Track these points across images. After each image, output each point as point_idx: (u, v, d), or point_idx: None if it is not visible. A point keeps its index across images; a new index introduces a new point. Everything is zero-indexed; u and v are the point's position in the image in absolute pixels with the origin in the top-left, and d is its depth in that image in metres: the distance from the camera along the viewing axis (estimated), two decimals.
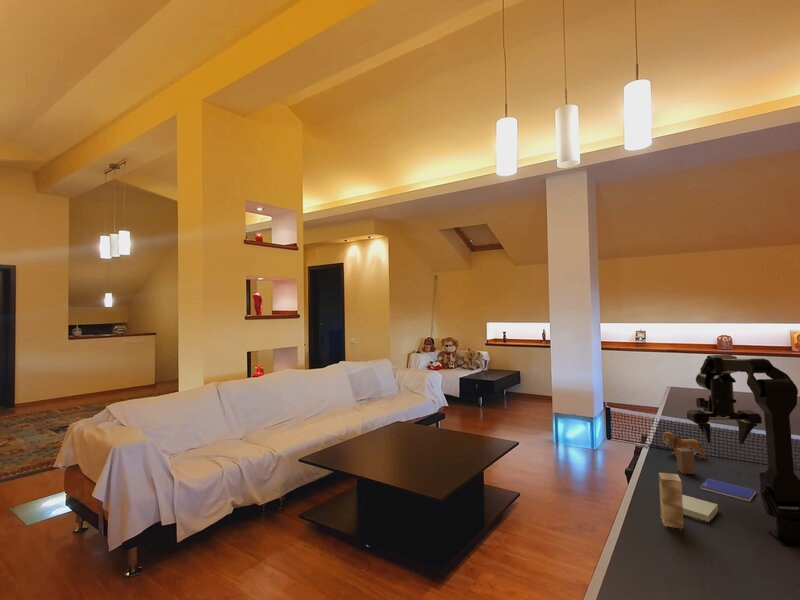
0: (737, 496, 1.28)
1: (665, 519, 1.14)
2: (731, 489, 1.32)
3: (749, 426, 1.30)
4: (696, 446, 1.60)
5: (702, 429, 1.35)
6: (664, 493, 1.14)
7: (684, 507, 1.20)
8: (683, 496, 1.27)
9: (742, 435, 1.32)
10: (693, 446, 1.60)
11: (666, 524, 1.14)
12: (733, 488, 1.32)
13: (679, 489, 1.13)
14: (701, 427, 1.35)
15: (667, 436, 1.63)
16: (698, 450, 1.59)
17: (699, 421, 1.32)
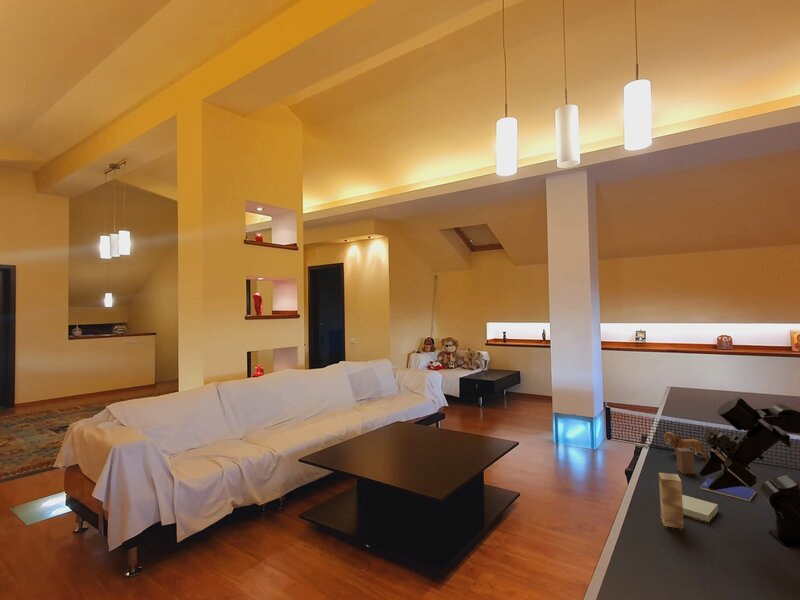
0: (737, 496, 1.28)
1: (665, 519, 1.14)
2: (731, 489, 1.32)
3: None
4: (698, 446, 1.59)
5: (722, 478, 1.06)
6: (664, 493, 1.14)
7: (684, 507, 1.20)
8: (683, 496, 1.27)
9: (712, 470, 1.16)
10: (695, 446, 1.60)
11: (666, 524, 1.14)
12: (733, 488, 1.32)
13: (679, 489, 1.13)
14: (724, 476, 1.06)
15: (669, 436, 1.63)
16: (700, 450, 1.59)
17: None
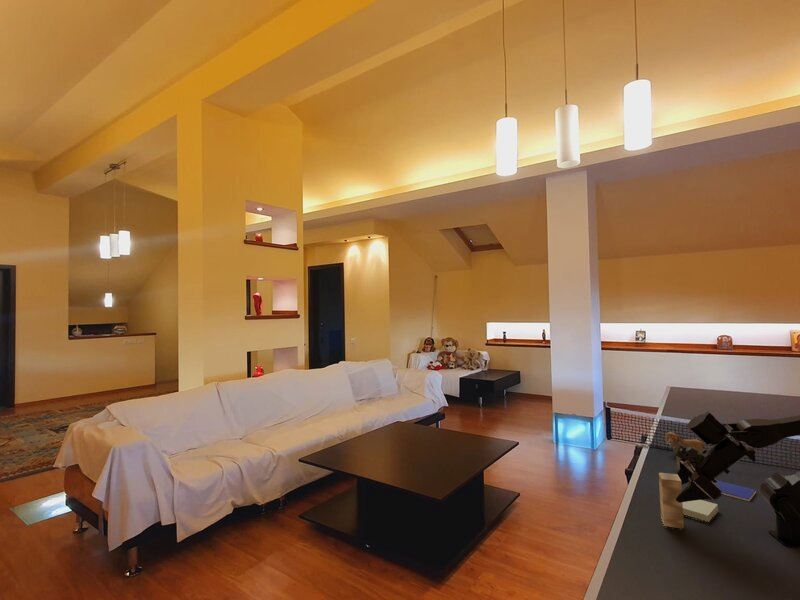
0: (737, 496, 1.28)
1: (665, 519, 1.14)
2: (730, 489, 1.32)
3: None
4: (699, 446, 1.59)
5: (689, 491, 1.09)
6: (664, 493, 1.14)
7: (684, 507, 1.20)
8: None
9: (681, 482, 1.18)
10: (696, 446, 1.60)
11: (666, 524, 1.14)
12: (733, 488, 1.32)
13: (679, 489, 1.13)
14: (691, 489, 1.09)
15: (670, 436, 1.63)
16: None
17: None
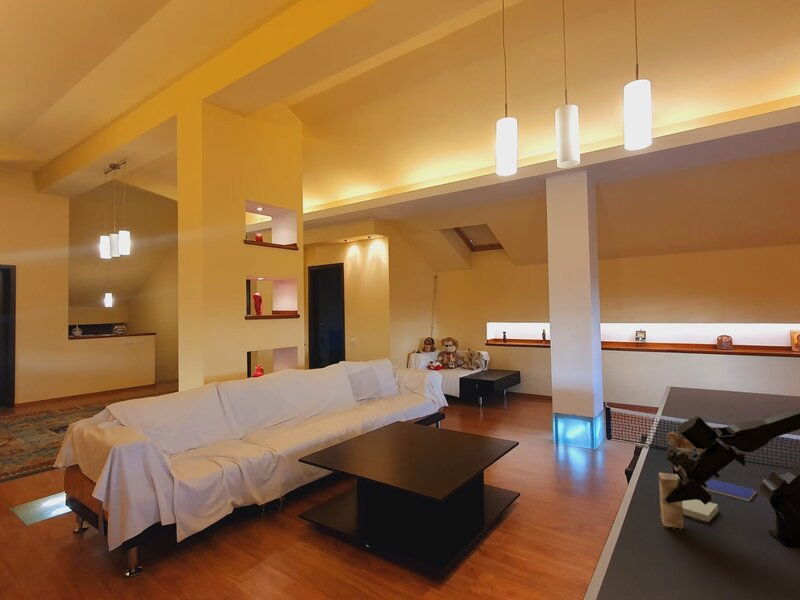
0: (737, 496, 1.28)
1: (665, 519, 1.14)
2: (730, 488, 1.32)
3: None
4: None
5: (678, 492, 1.12)
6: (664, 493, 1.14)
7: (684, 507, 1.20)
8: None
9: None
10: None
11: (666, 524, 1.14)
12: (733, 488, 1.32)
13: None
14: (679, 490, 1.11)
15: (671, 437, 1.63)
16: None
17: None
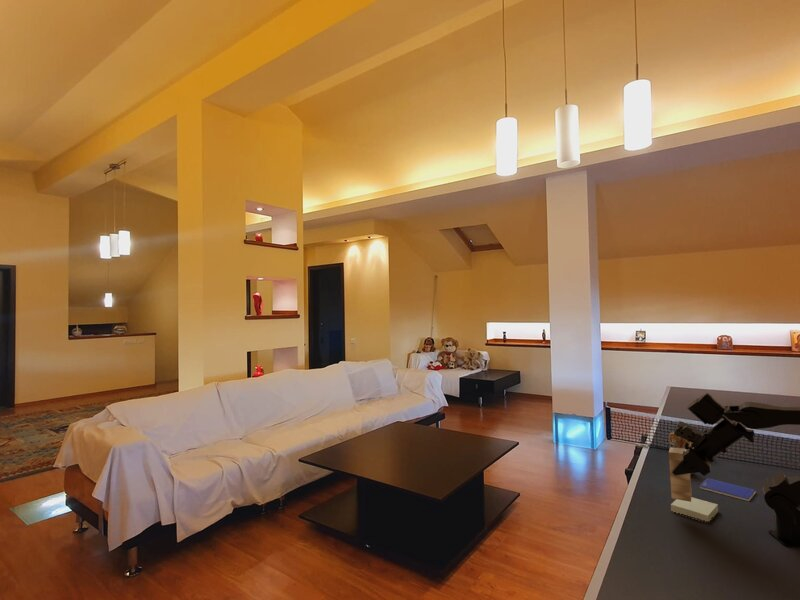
0: (736, 496, 1.28)
1: (672, 490, 1.19)
2: (730, 488, 1.32)
3: None
4: None
5: (683, 464, 1.16)
6: (671, 465, 1.19)
7: (684, 507, 1.20)
8: None
9: None
10: None
11: (673, 495, 1.19)
12: (733, 488, 1.32)
13: None
14: (684, 463, 1.16)
15: (673, 437, 1.62)
16: None
17: None
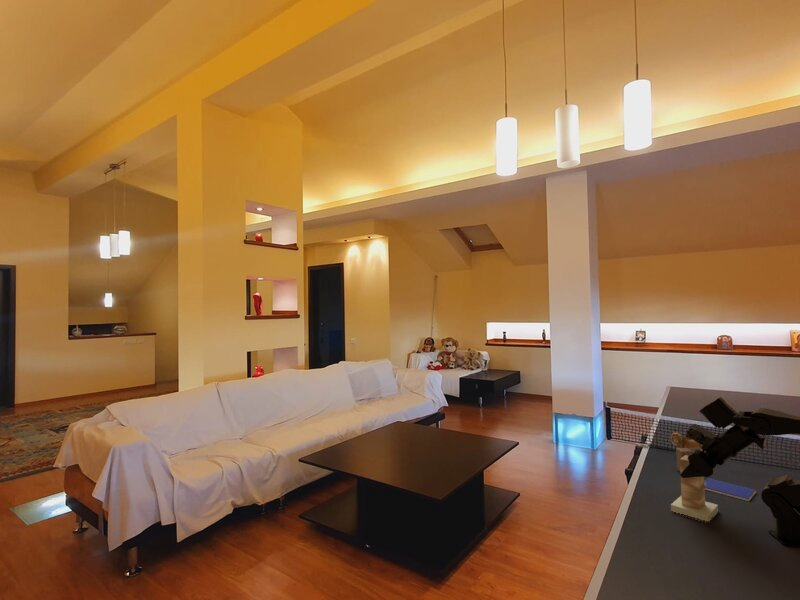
0: (736, 496, 1.28)
1: (682, 497, 1.22)
2: (730, 488, 1.32)
3: (718, 463, 1.21)
4: None
5: (690, 468, 1.17)
6: None
7: (684, 507, 1.20)
8: None
9: None
10: None
11: (683, 502, 1.22)
12: (733, 488, 1.32)
13: None
14: (691, 466, 1.17)
15: (675, 437, 1.62)
16: None
17: (709, 475, 1.12)
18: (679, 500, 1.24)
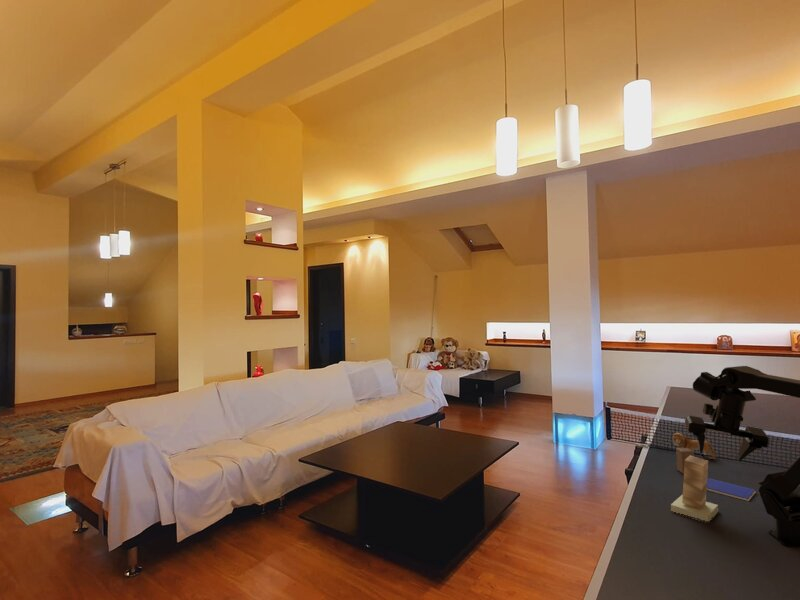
0: (736, 496, 1.28)
1: (684, 496, 1.21)
2: (730, 488, 1.32)
3: (750, 447, 1.17)
4: (706, 447, 1.58)
5: (698, 437, 1.25)
6: (686, 473, 1.21)
7: (684, 507, 1.20)
8: None
9: (741, 453, 1.20)
10: None
11: (684, 501, 1.21)
12: (733, 488, 1.32)
13: (700, 473, 1.18)
14: None
15: (677, 437, 1.62)
16: (708, 451, 1.58)
17: (693, 431, 1.22)
18: (679, 500, 1.24)
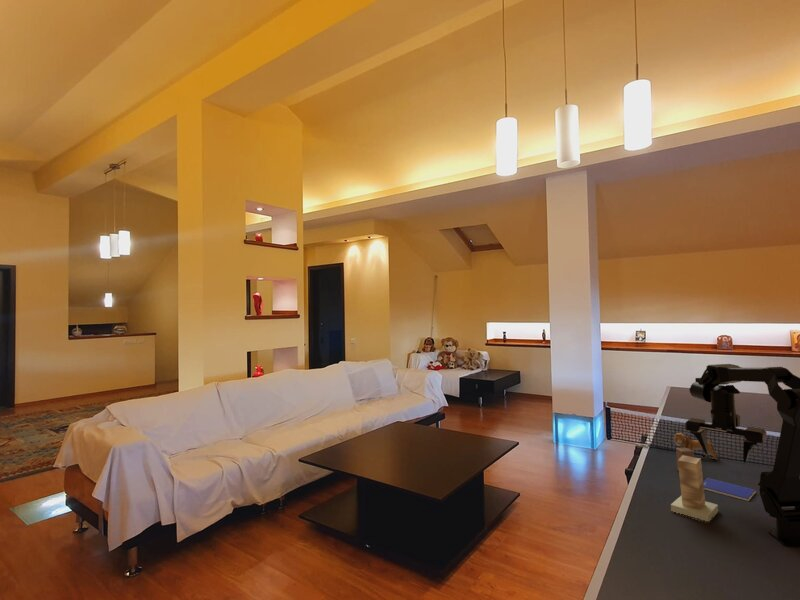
0: (736, 496, 1.28)
1: (683, 498, 1.21)
2: (730, 488, 1.32)
3: (745, 444, 1.20)
4: (708, 447, 1.58)
5: None
6: (681, 473, 1.21)
7: (684, 507, 1.20)
8: None
9: None
10: None
11: (684, 502, 1.21)
12: (733, 488, 1.33)
13: (694, 471, 1.19)
14: None
15: (679, 437, 1.61)
16: (710, 451, 1.58)
17: (689, 428, 1.31)
18: (679, 500, 1.24)
